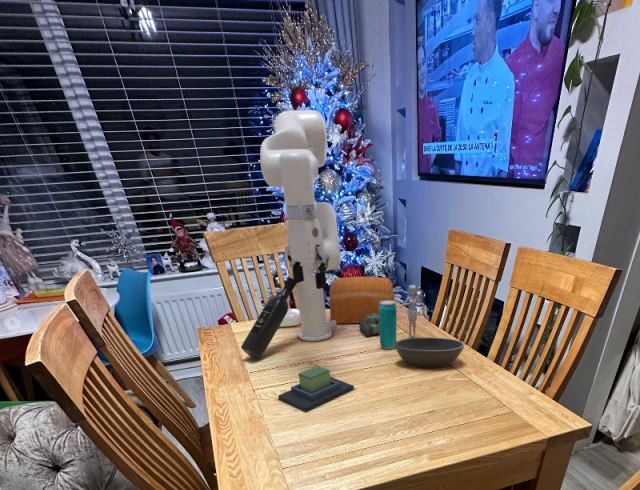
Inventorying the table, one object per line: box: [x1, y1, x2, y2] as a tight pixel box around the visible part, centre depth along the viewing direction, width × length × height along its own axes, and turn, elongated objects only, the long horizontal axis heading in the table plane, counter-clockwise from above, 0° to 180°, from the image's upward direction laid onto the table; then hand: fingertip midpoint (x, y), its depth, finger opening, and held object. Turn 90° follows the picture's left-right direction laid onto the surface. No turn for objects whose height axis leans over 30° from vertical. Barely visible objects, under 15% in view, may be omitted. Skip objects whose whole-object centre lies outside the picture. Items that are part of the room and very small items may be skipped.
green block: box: [298, 365, 331, 394], centre depth 120 cm, size 7×5×6 cm
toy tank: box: [358, 313, 380, 338], centre depth 162 cm, size 10×12×7 cm
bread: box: [329, 276, 395, 324], centre depth 172 cm, size 14×26×16 cm, turn 88°
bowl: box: [394, 337, 465, 369], centre depth 136 cm, size 12×22×6 cm, turn 83°
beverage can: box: [379, 300, 398, 350], centre depth 146 cm, size 6×6×15 cm
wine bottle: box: [240, 277, 297, 360], centre depth 145 cm, size 6×6×30 cm
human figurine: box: [396, 284, 430, 339], centre depth 151 cm, size 12×4×18 cm, turn 93°
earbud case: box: [279, 308, 301, 328], centre depth 172 cm, size 10×13×5 cm
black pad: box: [277, 376, 355, 413], centre depth 122 cm, size 18×12×3 cm, turn 138°
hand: (310, 284), depth 121 cm, fingers open, 9 cm apart
